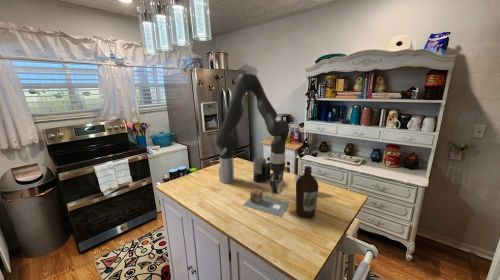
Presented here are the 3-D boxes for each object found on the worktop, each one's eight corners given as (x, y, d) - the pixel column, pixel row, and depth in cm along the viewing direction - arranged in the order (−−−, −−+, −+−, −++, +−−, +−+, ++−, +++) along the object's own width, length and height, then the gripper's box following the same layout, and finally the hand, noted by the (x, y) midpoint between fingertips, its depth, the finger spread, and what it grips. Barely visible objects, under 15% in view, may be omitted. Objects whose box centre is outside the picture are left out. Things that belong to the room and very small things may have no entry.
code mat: (242, 205, 113) (242, 205, 113) (254, 193, 125) (254, 193, 125) (281, 216, 103) (281, 216, 103) (289, 202, 115) (289, 202, 115)
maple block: (270, 192, 108) (270, 182, 106) (274, 188, 112) (274, 178, 111) (279, 195, 106) (279, 184, 104) (282, 190, 110) (283, 180, 108)
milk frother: (250, 180, 142) (250, 160, 139) (261, 173, 155) (261, 154, 152) (269, 185, 135) (269, 164, 131) (279, 177, 148) (279, 157, 144)
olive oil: (291, 209, 109) (293, 164, 103) (309, 206, 111) (312, 162, 105) (300, 221, 99) (303, 172, 93) (320, 218, 101) (324, 170, 95)
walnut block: (250, 202, 116) (250, 192, 114) (254, 198, 120) (254, 188, 118) (258, 204, 113) (258, 194, 112) (262, 200, 117) (262, 190, 116)
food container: (291, 191, 127) (292, 176, 125) (294, 187, 132) (294, 172, 130) (312, 196, 121) (313, 180, 119) (314, 191, 127) (315, 176, 124)
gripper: (275, 155, 112) (275, 183, 117) (264, 163, 100) (264, 195, 105) (289, 157, 109) (287, 186, 113) (279, 166, 97) (278, 199, 101)
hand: (276, 190), depth 109 cm, fingers closed on maple block, 5 cm apart
